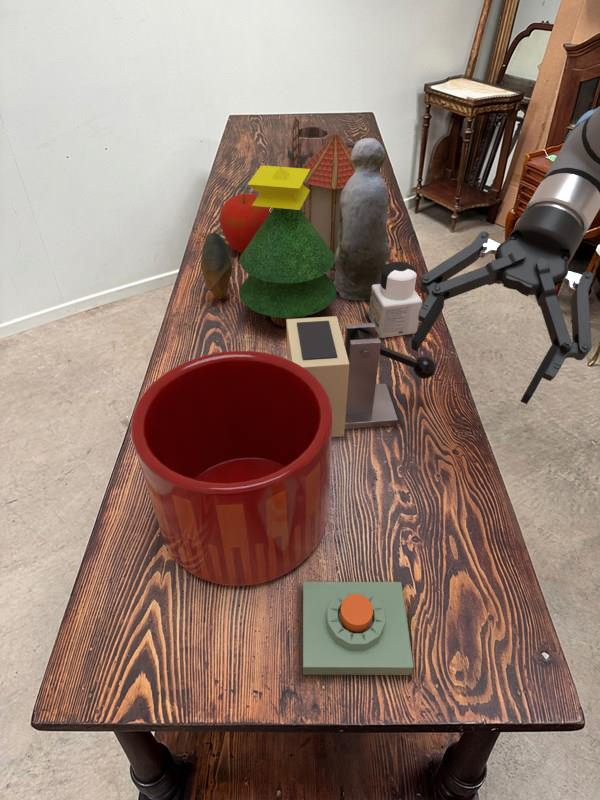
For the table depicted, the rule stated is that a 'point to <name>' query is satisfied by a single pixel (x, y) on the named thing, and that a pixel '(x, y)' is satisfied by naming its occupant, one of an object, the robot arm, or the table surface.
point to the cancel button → (356, 613)
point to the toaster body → (322, 360)
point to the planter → (236, 464)
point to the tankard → (309, 145)
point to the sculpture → (362, 224)
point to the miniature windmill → (325, 184)
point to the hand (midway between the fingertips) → (467, 372)
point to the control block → (355, 651)
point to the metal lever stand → (366, 382)
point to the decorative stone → (216, 265)
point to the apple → (241, 220)
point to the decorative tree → (285, 251)
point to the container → (395, 301)
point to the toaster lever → (404, 358)
